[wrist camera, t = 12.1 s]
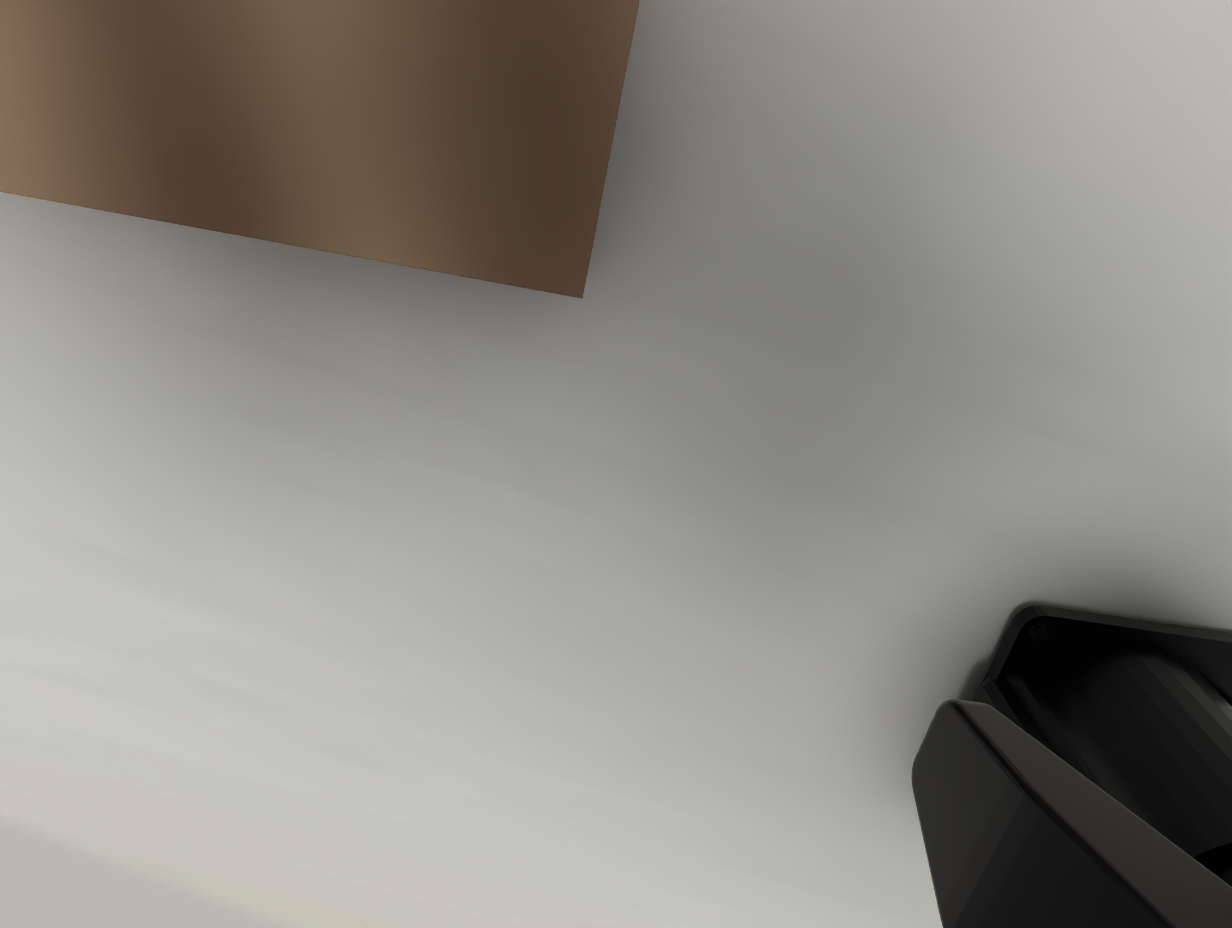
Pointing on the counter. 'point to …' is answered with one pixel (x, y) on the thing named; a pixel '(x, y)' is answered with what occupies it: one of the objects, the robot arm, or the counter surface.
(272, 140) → the shelf
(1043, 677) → the robot arm
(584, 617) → the counter surface
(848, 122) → the counter surface
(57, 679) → the counter surface
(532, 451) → the counter surface
